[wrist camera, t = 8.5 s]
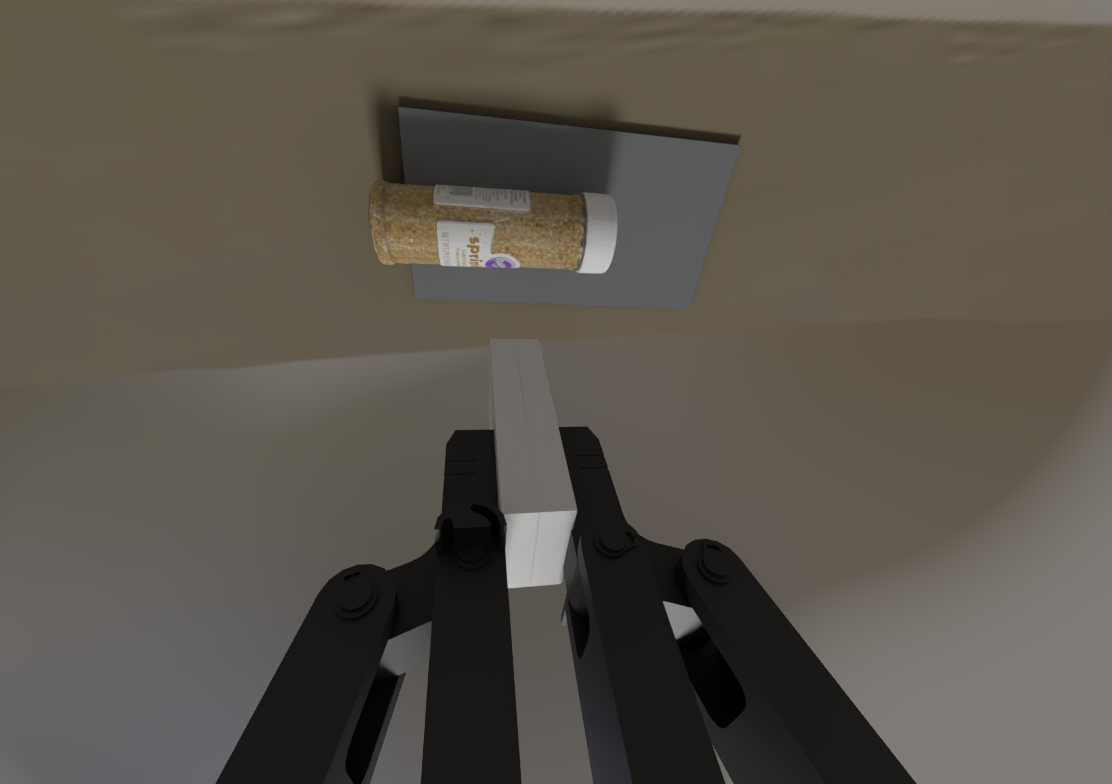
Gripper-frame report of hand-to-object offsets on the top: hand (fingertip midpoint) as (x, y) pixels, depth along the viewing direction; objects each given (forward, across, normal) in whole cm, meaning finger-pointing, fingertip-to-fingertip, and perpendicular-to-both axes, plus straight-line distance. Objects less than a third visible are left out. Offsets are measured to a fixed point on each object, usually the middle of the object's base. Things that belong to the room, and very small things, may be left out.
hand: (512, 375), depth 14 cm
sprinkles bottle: (+15, -7, 0) cm, 16 cm away
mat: (+17, +5, 0) cm, 18 cm away
